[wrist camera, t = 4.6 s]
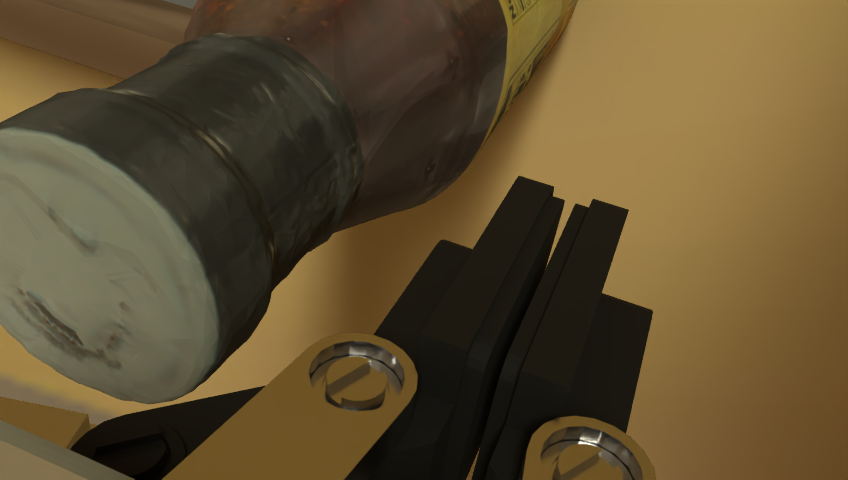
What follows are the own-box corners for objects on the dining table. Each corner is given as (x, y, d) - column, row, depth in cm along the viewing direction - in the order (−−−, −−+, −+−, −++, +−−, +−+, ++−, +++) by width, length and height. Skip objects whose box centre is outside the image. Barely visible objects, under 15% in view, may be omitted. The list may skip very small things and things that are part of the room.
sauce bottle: (449, 73, 28) (28, 478, 12) (384, -102, 26) (-239, 124, 10) (626, 21, 25) (359, 483, 9) (570, -184, 22) (82, -39, 7)
